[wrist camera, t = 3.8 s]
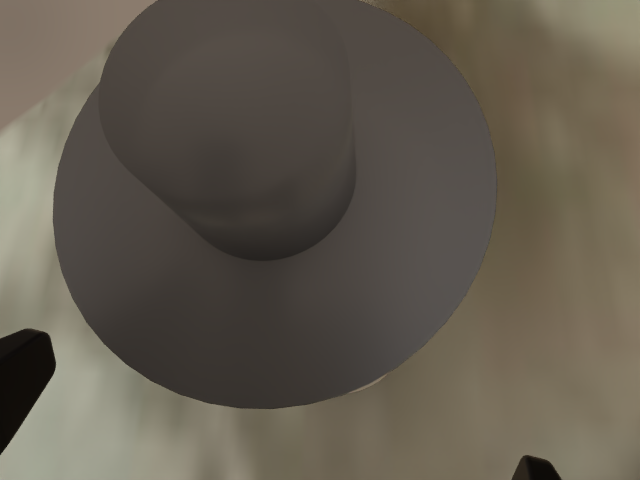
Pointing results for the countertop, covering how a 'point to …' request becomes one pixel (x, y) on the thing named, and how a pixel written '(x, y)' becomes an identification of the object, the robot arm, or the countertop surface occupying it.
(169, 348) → the white bottle
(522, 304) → the countertop surface
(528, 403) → the countertop surface
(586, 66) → the countertop surface
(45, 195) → the countertop surface
